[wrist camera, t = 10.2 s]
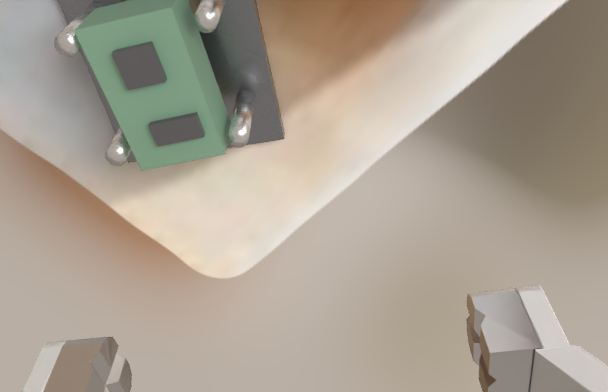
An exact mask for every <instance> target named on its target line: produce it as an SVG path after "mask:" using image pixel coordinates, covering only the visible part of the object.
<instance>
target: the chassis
mask: <svg viewBox="0 0 608 392" xmlns="http://www.w3.org/2000/svg"><path fill="white" fill-rule="evenodd" d="M125 1H129V0H59V2H60V5H61V7H62V9H63V12H64V14H65V16H66V19H67V21H68V23H69V25H68V26H67V27H66V28H65V29H64V30H63V31H62V32H61V33H60V34H59V35H58V36H57V37H56V38H55V41H54V44H55V48H56V49H57V51H58V52H59V53H60V54H62V55H64V56H67V57H71V56H74V55H76V54H77V53H78V51H79V50H80V51H81V54H82V56H83V58H84V60H85V63H86V65H87V67H88V70H89V72H90V74H91V77H92V79H93V81H94V84H95V86H96V88H97V91H98V93H99V95H100V98H101V100H102V102H103V105H104V107H105V109H106V112H107V114H108V116H109V119H110V121H111V123H112V126H113V128H114V130H115V133H116V135H115V137H114V139H113V140H112V142H111V144H110V146H109V148H108V150H107V151H106V154H105V157H106V159H107V161H108V162H109V163H111V164H113V165H116V166H120V165H123V164H124V163H125V162H126V160H127V161H128V163H129V162H136V161H137V160H136V158H135V156H134V154H133V152H132V150H131V148H130V146H129V144H128V141H127V139H126V137H125V135H124V133H123V131H122V129H121V127H120V125H119V123H118V121H117V119H116V117H115V115H114V113H113V111H112V108H111V106H110V104H109V102H108V100H107V98H106V96H105V94H104V92H103V90H102V88H101V86H100V84H99V82H98V80H97V78H96V76H95V73H94V71H93V69H92V67H91V65H90V63H89V61H88V59H87V57H86V55H85V53H84V51H83V49H82V47H81V45H80V43H79V41H78V38H77V36H76V34H75V32H74V30H75V29H76V28H77V27H78V26H79V25H80V24H81V23H82V22H83V21H84V20H85V19H86V17H87V16H88V15H89V14H90V13H91V12H92V11H93V10H94V9H96V8H100V7H105V6H109V5H113V4H117V3H121V2H125ZM188 1H189V4H190V7H191V10H192V13H193V16H194V18H193V22H194V25H195V27H196V28H197V29H198V30H199V33H200V36H201V39H202V41H203V44H204V47H205V50H206V53H207V56H208V59H209V61H210V64H211V67H212V70H213V73H214V76H215V79H216V82H217V84H218V87H219V90H220V93H221V96H222V99H223V102H224V105H225V107H226V110H227V113H228V116H229V119H230V122H231V124H230V128H229V133H228V144H227V148H228V147H243V146H245V145H248V144H255V143H261V142H268V141H275V140H281V139H284V135H285V132H284V128H283V123H282V119H281V114H280V110H279V105H278V100H277V96H276V91H275V87H274V82H273V78H272V73H271V69H270V64H269V60H268V55H267V51H266V46H265V42H264V37H263V33H262V28H261V24H260V19H259V15H258V10H257V5H256V1H255V0H188Z"/></svg>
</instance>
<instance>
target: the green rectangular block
mask: <svg viewBox="0 0 608 392" xmlns="http://www.w3.org/2000/svg"><path fill="white" fill-rule="evenodd" d="M193 18H194V16H193V13H192V10H191V7H190V4H189V1H188V0H129V1H125V2H121V3H117V4H113V5H109V6H105V7H100V8H96V9H94V10H93V11H92V12H91V13H90V14H89V15H88V16H87V17H86V19H85V20H84V21H83V22H82V23H81V24H80V25H79V26H78V27H77V28H76V29H75V30H74V32H75V34H76V36H77V38H78V41H79V43H80V45H81V47H82V49H83V51H84V53H85V55H86V57H87V59H88V61H89V63H90V65H91V67H92V69H93V71H94V73H95V76H96V78H97V80H98V82H99V84H100V86H101V88H102V90H103V92H104V94H105V96H106V98H107V100H108V102H109V104H110V106H111V108H112V111H113V113H114V115H115V117H116V119H117V121H118V123H119V125H120V127H121V129H122V131H123V133H124V135H125V137H126V139H127V141H128V144H129V146H130V148H131V150H132V152H133V154H134V156H135V158H136V160H137V162H138V164H139V166H140V168H141V170H142V171H143V170H148V169H153V168H158V167H163V166H168V165H173V164H178V163H183V162H188V161H193V160H197V159H202V158H207V157H212V156H217V155H222V154H225V153H226V149H227V144H228V133H229V128H230V124H231V122H230V119H229V116H228V113H227V110H226V107H225V105H224V102H223V99H222V96H221V93H220V90H219V87H218V84H217V82H216V79H215V76H214V73H213V70H212V67H211V64H210V61H209V59H208V56H207V53H206V50H205V47H204V44H203V41H202V39H201V36H200V33H199V30H198V29H197V28H196V27H195V25H194V22H193Z"/></svg>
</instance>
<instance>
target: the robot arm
mask: <svg viewBox="0 0 608 392" xmlns="http://www.w3.org/2000/svg"><path fill="white" fill-rule="evenodd" d="M467 308H468V311H469V314H470V316H469V317H468V318H467V335H468V342H469V347H470V351H471V354H472V358H473V361H474V362H475V363H476V364H478V365H479V381H480V384H481V388H482V391H483V392H608V366H607V365H605V364H604V363H603V362H601V361H600V360H598V359H597V358H595V357H594V356H593V355H591V354H590V353H588V352H587V351H585V350H584V349H582V348H581V347H579V346H578V345H572V346H570V344H569V342H568V340H567V338H566V336H565V334H564V332H563V330H562V328H561V326H560V324H559V322H558V320H557V318H556V316H555V314H554V311H553V309H552V307H551V305H550V303H549V302H548V299H547V297H546V295H545V293H544V291H543V289H542V288H541V287H540V286H539V285H536V286H528V287H519V288H509V289H501V290H493V291H485V292H478V293H470V294H468V296H467ZM117 349H118V344H117V343H116V341H115V340H114V338H113V337H102V338H91V339H79V340H68V341H60V342H50V343H47V344H46V345H45V346H44V347H43V348H42V350H41V352H40V354H39V356H38V358H37V360H36V362H35V365H34V367H33V369H32V371H31V373H30V375H29V377H28V380H27V382H26V384H25V386H24V388H23V390H22V392H130V389H131V380H132V377H131V376H132V373H131V369H130V365H129V363H128V361H127V359H126V358H125V357H123V356H121V355H120V354H118V353H117Z"/></svg>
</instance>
